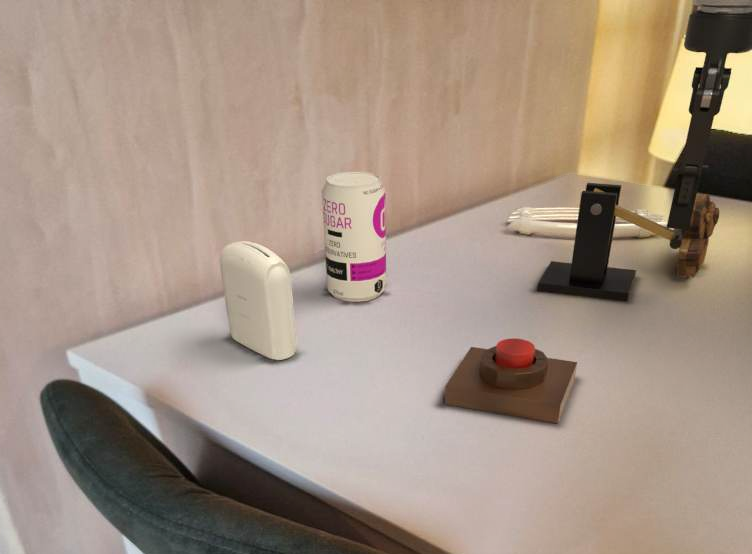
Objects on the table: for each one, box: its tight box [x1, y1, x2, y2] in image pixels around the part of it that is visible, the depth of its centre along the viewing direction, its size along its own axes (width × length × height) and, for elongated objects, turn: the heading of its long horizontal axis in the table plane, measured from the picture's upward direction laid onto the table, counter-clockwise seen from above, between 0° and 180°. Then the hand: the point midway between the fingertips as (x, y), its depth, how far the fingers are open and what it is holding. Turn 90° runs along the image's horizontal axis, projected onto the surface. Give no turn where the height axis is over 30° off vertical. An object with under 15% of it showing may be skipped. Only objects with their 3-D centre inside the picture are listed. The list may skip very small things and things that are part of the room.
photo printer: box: [219, 240, 298, 361], centre depth 90 cm, size 10×4×12 cm, turn 41°
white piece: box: [506, 206, 668, 239], centre depth 125 cm, size 3×10×25 cm
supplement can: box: [321, 171, 387, 303], centre depth 102 cm, size 8×8×15 cm
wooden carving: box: [676, 193, 720, 278], centre depth 108 cm, size 16×5×10 cm, turn 160°
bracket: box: [537, 182, 637, 302], centre depth 103 cm, size 12×9×13 cm
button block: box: [444, 345, 578, 424], centre depth 82 cm, size 12×10×4 cm
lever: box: [594, 188, 684, 250], centre depth 100 cm, size 13×5×2 cm, turn 68°
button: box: [495, 338, 536, 369], centre depth 80 cm, size 4×4×2 cm
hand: (677, 226), depth 98 cm, fingers closed
